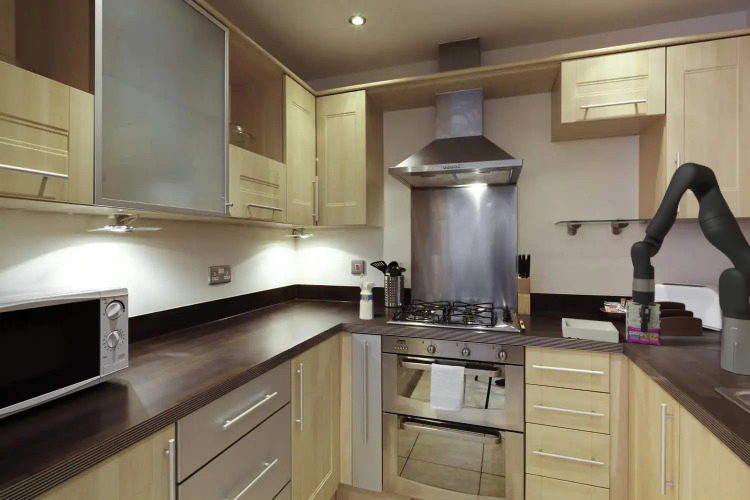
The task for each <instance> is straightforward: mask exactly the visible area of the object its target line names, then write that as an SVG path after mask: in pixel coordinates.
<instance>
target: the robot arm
mask: <svg viewBox="0 0 750 500" xmlns="http://www.w3.org/2000/svg"><path fill="white" fill-rule="evenodd" d="M669 181H670V182H669V183H668V185H667V189H666V191H665V192H664V195H663V198H662V201H661V202H660V204H659V207H658V209H657V211H656V212H655V214H654V216H653V217H652V218H651V220H650V221H649V223H648V225H647V226H646V228H645V230H644V232H645V234H646V235H645V237H644V239H643V240H642V241H641V240H640V241H635V242H634V243H633V244H632V245H631V247H630V258H631V263H632V266H633V270H632V273H633V274H632V283H631V287H632V289H631V291H632V292H631V293H632V294H631V299H632V302H639V303H641V311H639V317H640V318H641V321H640V322H641V332H644V333H647V332H648V323H650V314H651V309H648V308H649V306H648V303H649V302H656V283H655V281H656V280H655V275H656V274H655V272H656V271H655V270H656V269H655V266H654V265H653V264H652V261H651V259H652V258H654V257H656V255H657V254H658V253H659V252H660V251H661V248H662V245H663V243H664V240H665V238H666V236H667V235H668V234H669V232H670V231H671V230H672V227H673V226H674V225H675V222H676V220H677V218H678V212H679V205H680V201H682V200H681V199H682V198H683V196H684V195H685V193H686V192H687V191H688V190H690V191H691V192H692V193H693V195H694V197H695V198H696V200H697V203H698V213H697V214H698V215H697V221H698V225H699V227H700V229H701V232H702V234H703V236H704V238H705V240H707V241H708V243H710V244H711V245H712V246H713V247H714V248H716V249H717V251H720V252H721V253H722V254H723V255H725V256H726V258H728V259H729V261H730V262H731V263H732V265H733V266H734V267H729V268H726V269H724V270H723V271H722V272H721V273H720V275H719V279H718V302H719V307H720V309H721V342H720V343H721V345H720V346H721V347H720V368H721V369H723V370H725V371H727V372H731V373H733V374H736V375H746V376H750V244H749V242H748V240H747V238H746V237H745V234H744V233H743V231H742V230H741V226H740V224H739V222H738V221H737V218H736V217H735V215H734V213H733V212H732V210H731V208H730V206H729V204H728V201H726V198H725V197H724V196H723V194H722V191H721V188H720V185H719V183H718V179H717V177H716V174H715V172H714V171H713V170H712V168H710V167H709V166H706V165H703V164H699V163H696V162H684V163H682V164H681V165H679V166H678V167H677V168H676V170H675V171H674V173H673V175H672V177H671V179H670V180H669ZM641 313H642V315H641ZM644 317H645V318H647V320H646V319H644Z"/></svg>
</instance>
